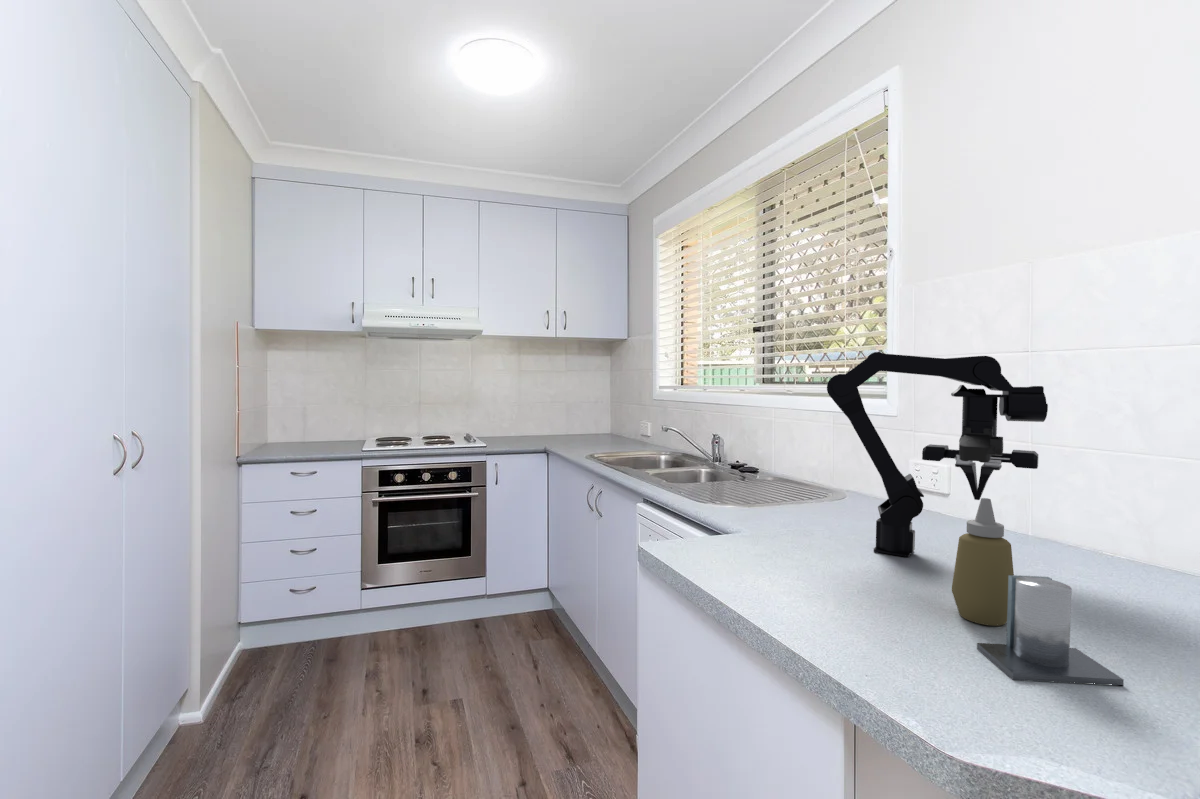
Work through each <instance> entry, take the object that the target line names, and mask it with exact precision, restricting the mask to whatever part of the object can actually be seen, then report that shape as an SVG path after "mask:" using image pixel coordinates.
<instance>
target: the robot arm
mask: <svg viewBox="0 0 1200 799" xmlns="http://www.w3.org/2000/svg"><path fill="white" fill-rule="evenodd" d="M879 372H887V373H897V374H908V375H909V374H911V375H921V376H933V377H942V378H945V379H949V380H953V381H956V382H959V383H964V384H960V385H959V386H958V388H957V389H955V390H954V391H952V392H951V394H950V396H951V397H955V398H962V416H961V420H962V422H961V436H960V437H959V441H958V442H959V443H958V449H949V445H946V444H945V445H944V444H932V443H931V444H928V445H925V446H924V447H923V448H922V452H921V454H922V455H921V460H923V461H932V462H941V461H942V460H943V459H952V460H953V459H954V460H955V463H954V466H955V468H960V469H961V470H962V472H963V473H964V475H965V477H966V480H967V481H968V485H969V487H970V490H971V493H972V496H973V499H974V501H981V498H982V496H983V493H984V490H985V488H986V486H987V483H988V481H989V479H990V477H991V475H992V474H993V472H994V471H1000V470H1001V468H1002V466H1003V465H1002V463H1009V464H1012V465H1013V466H1014V467H1015V468H1019V469H1031V470H1032V469H1033V470H1036V469H1038V467H1039V453H1038V452H1037V451H1035V450H1023V449H1013V450H1012V451H1011V453H1010V452H1004V437H1003V436H997V433H998V431H997V430H998V412H999V415H1000V417H1001V416H1002V417H1003V416H1004V417H1005V419H1006V421H1007V422H1035V423H1044V422H1045V421H1046V419H1047V415H1048V411H1049V410H1048V408H1049V404H1048V403H1047V398H1046V394H1045V392H1044V391H1045V389H1044V386H1042V385H1031V386H1013V385H1012V384H1011V383H1010V382H1009V381H1008V379H1007V378H1006V377H1005V376H1004V375H1003V374H1002V366H1001V364H1000V362H999V361H998V360H997V359H996V358H995V357H992V356H989V355H978V356H977V355H976V356H975V355H974V356H961V357H950V358H949V357H948V358H943V357H941V358H940V357H930V356H919V355H907V354H893V353H883V352H880V351H874V352H872V353H869V355H868V356H867V357H866V358H865V359H864V360H863V361H861V362H860V363H858V364H857V365H855V366H854V367H853V368H852V369H850V370H849V371H847V372H846V373H845V374H844V373H839V374H836V375H833V376H832V377H830V379H828V380H829V381H828V382H827V385H826V391H827V394H828V396H829V397H830V398H831V399H832V401H833V402H834V403H835V404H836V406H837V407H838V408H839V409H840V411H842V413H843V414H844V415H845V416H846V417H847V419H849V422H850V424H851V425H852V427H853V429H854V431H855V432H856V434H857V436H858V438H859V440H860V441H861V442H860V443H861V444H862V445H863V447H864V449H865V451H866V452H867V454H868V456H869V458H870V459H871V461H872V463H873V465H874V467H875V469H876V470H877V472H878V474H879V476H880V479H881V480H882V483H883V486H884V489H885V493H886V495H887V499H886V500H885V501H883V502H882V503H881V504H879V505H878V506H877V512H878V513H879V517H878V518H877V520H876V523H875V546H874V548H873V552H876V553H880V554H887V555H892V556H899V557H905V558H909V557H910V556H911V554H913V552H914V551H915V549H916V547H915V546H916V544H915V543H916V531H915V529H913V522H912V521H913V519H915V518H917V517H918V516H919V515H920V514H921V513H922V512H923V509H924V502H923V500H922V498H925V495H924V493H923V492H922V490H921V489H919V488H918V486H917V484H916V481H915V478H914V477H913V475H912V474H911V473H908V474H907V475H905V476H904V474H903V473H902V472H901V471H900V470H899V469H898V467H897V465H896V463H895V462H894V459H893V458H892V456H891V454H890V453H889V451H888V449H887V448H886V445H885V444H884V441H883V440H882V439H881V437H880V435H879V433H878V431H877V429H876V428H875V426H874V424H873V423H872V420H871V419H870V417H869V415H868V413H867V411H866V410H865V409H866V408H865V406H864V404H863V400H862V396H861V394H860V391H859V388H858V387H860V386H861V385H862V384H864V383H865V382H867V381H868V380H869V379H870V378H872V377H874V376H875V375H876V374H878V373H879ZM965 384H968V385H971V386H981V387H985V388H986V389H988V390H990V391H998V392H1001V394H1000V393H999V394H993V393H990V394H989V393H987V392H986V390H985V388H967V387H966V386H965ZM998 398H999V402H998ZM998 410H999V411H998ZM976 462H980V463H983V464H982V465H981V466H980V472H979V474H980V475H979V478H978V475H977V465H976ZM977 478H978V479H977Z"/></svg>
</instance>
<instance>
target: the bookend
mask: <svg viewBox="0 0 1200 799" xmlns="http://www.w3.org/2000/svg"><path fill="white" fill-rule="evenodd" d="M1072 591H1073V589H1072V587H1071V586H1070V585H1068V584H1066V583H1064V582H1061V581H1058V580H1054V579H1053V578H1051V577H1049V576H1041V575H1040V576H1039V575H1038V576H1037V575H1036V576H1035V575H1034V576H1033V575H1017V574H1014V575H1009V577H1008V608H1007V622H1006V642H1005V643H990V642H989V643H988V642H987V643H986V642H985V643H983V642H976V649H977V650H978V651H979V652H980V651H981V652H982V653H983V655H984V656H985V657H986V658H987V657H988V658H989V659H990V660H989V659H988V658H987V659H988V660H989V661H990V662H991V663H992V664H994V665H995V666H996V667H997V668H998V669H999V670H1001V671H1002V672H1003V673H1004V674H1005V675H1007V677H1009V678H1010V679H1011V680H1013V681H1024V680H1033V681H1032V682H1041V681H1054V682H1053V683H1058V682H1067V683H1066V684H1075V683H1093V684H1094V683H1095V684H1112V685H1123V686H1124V682H1125V681H1124V678H1122V677H1120V676H1119V675H1117V674H1116V673H1115V672H1113V671H1111V670H1110V669H1108V668H1107V667H1105V666H1103V665H1102V664H1101V663H1099V662H1098V661H1096V660H1094V659H1093V658H1091V657H1090V656H1089V655H1087V654H1086V653H1084V652H1082V651H1081V650H1079V649H1078V648H1077V647H1070V645H1071V644H1070V643H1071V625H1072V624H1071V621H1072V619H1071V618H1072V595H1073V592H1072ZM981 652H980V653H981ZM982 653H981V654H982ZM1070 682H1071V683H1070ZM1074 682H1075V683H1074Z"/></svg>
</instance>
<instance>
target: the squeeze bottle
mask: <svg viewBox="0 0 1200 799" xmlns="http://www.w3.org/2000/svg"><path fill="white" fill-rule="evenodd" d="M994 513H995V512H994V509H993V504H992V500H991V498H988V497H987V498H986V497H981V498H980V500H979V503H978V509H977V511H976V515H975V518H974V519H969V520H967V521H966V533H963V534H962V535H960V536H959V538H958V544H957V550H956V557H955V564H954V570H953V576H952V584H951V593H952V596H953V599H954V602H955V605H956V608H957V612H958V614H959V616H960V617H962V618H963V619H964V620H967V621H970V622H973V623H976V624H978V625H979V624H980V625H984V626H991V627H992V626H993V627H995V626H996V627H998V626H1004V625H1005V624H1007V608H1008V577H1009V575H1015V574H1014V565H1013V564H1014V561H1013V552H1012V551H1013V550H1012V544H1011V543H1010V541H1009V540H1007V539H1006V538H1004V536H1005V526H1004V524H1003V523H1000V522H997V521H996V518H995V514H994Z"/></svg>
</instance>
